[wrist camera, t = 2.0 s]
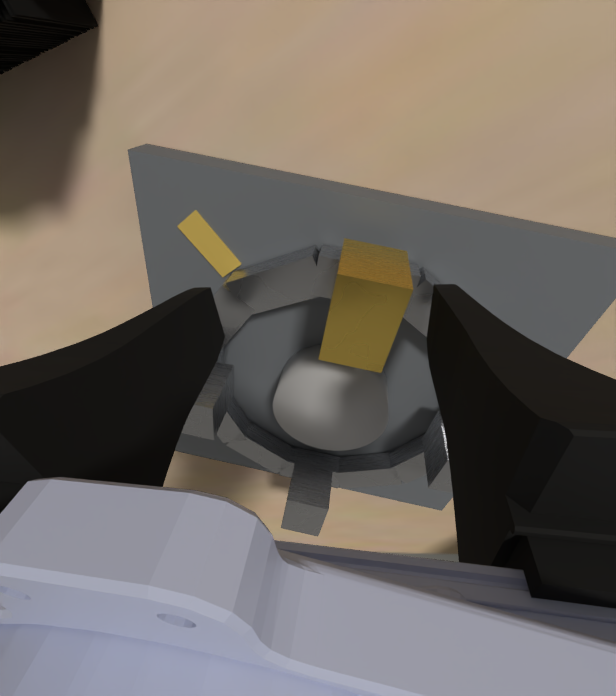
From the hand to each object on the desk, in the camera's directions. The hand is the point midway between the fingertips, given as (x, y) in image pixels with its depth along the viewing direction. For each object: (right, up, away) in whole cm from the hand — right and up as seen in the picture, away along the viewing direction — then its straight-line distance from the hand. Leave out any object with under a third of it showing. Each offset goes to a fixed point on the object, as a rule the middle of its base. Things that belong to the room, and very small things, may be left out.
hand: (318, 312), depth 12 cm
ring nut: (+1, -3, +5) cm, 6 cm away
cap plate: (+1, -2, +6) cm, 6 cm away
